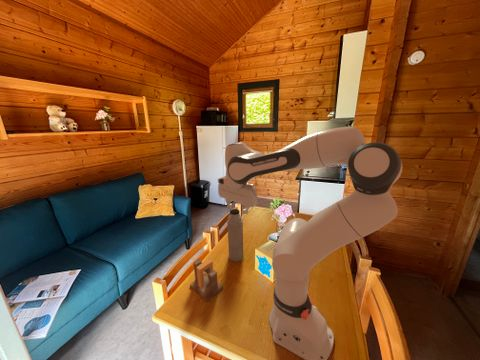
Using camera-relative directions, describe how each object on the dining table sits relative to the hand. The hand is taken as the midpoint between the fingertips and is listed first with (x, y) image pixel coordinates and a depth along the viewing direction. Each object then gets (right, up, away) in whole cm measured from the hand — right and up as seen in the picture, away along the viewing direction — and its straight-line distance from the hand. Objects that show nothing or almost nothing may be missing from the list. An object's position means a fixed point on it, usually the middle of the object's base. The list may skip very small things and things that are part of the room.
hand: (237, 210), depth 89 cm
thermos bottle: (-1, -29, +21) cm, 36 cm away
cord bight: (-14, -33, +1) cm, 36 cm away
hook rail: (-14, -35, +2) cm, 38 cm away
